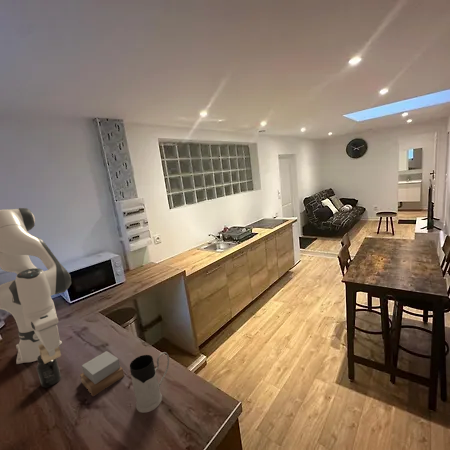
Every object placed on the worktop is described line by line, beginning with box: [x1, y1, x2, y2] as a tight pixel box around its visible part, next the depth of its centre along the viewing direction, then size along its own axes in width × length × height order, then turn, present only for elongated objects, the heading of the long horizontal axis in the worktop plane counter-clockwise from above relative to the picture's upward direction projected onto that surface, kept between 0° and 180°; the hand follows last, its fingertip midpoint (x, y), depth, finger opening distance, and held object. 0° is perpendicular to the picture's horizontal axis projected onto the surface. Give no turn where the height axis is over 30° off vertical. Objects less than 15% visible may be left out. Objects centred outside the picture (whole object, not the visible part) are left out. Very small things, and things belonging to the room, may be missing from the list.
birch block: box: [38, 344, 62, 364], centre depth 91 cm, size 5×5×5 cm
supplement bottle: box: [36, 355, 62, 388], centre depth 104 cm, size 7×7×12 cm
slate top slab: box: [81, 350, 121, 384], centre depth 102 cm, size 10×10×4 cm
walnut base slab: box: [79, 366, 125, 397], centre depth 102 cm, size 12×12×4 cm
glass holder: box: [129, 351, 170, 413], centre depth 89 cm, size 9×14×15 cm, turn 135°
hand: (49, 351), depth 91 cm, fingers closed on birch block, 5 cm apart
